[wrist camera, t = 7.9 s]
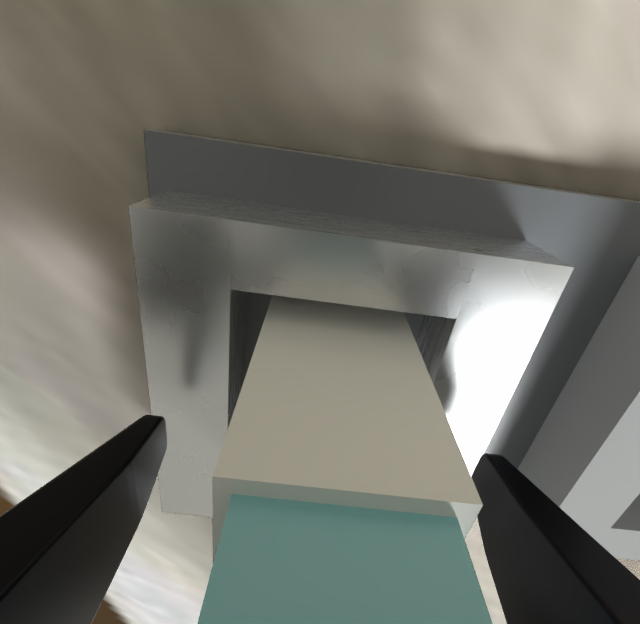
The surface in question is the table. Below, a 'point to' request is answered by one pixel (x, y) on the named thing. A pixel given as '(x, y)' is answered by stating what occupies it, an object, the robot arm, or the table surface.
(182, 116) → the table surface
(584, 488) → the grey square socket frame
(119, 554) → the robot arm
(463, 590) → the plug
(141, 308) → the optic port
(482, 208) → the station board
